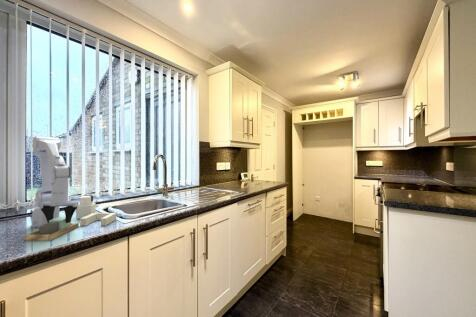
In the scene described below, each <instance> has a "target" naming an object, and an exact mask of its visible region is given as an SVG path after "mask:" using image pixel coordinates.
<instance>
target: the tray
mask: <svg viewBox="0 0 476 317" xmlns="http://www.w3.org/2000/svg"><path fill="white" fill-rule="evenodd" d="M79 224H80V222H71V226H68V227H66V228H64V229H62V230H60V231H57V232H55V233H53V234H51V235H39V229H38V230H35V231H32V232H30V233H27V234H24V236H23V241H24V242H29V241H30V242H31V241H34V242H37V241H38V242H39V241H41V242H44V241H53V240H55V239H57V238H60V236H63V235H65V234H67V233H69V232H71V231H74V230H75V229H77V228H79V226H80V225H79Z"/></svg>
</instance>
